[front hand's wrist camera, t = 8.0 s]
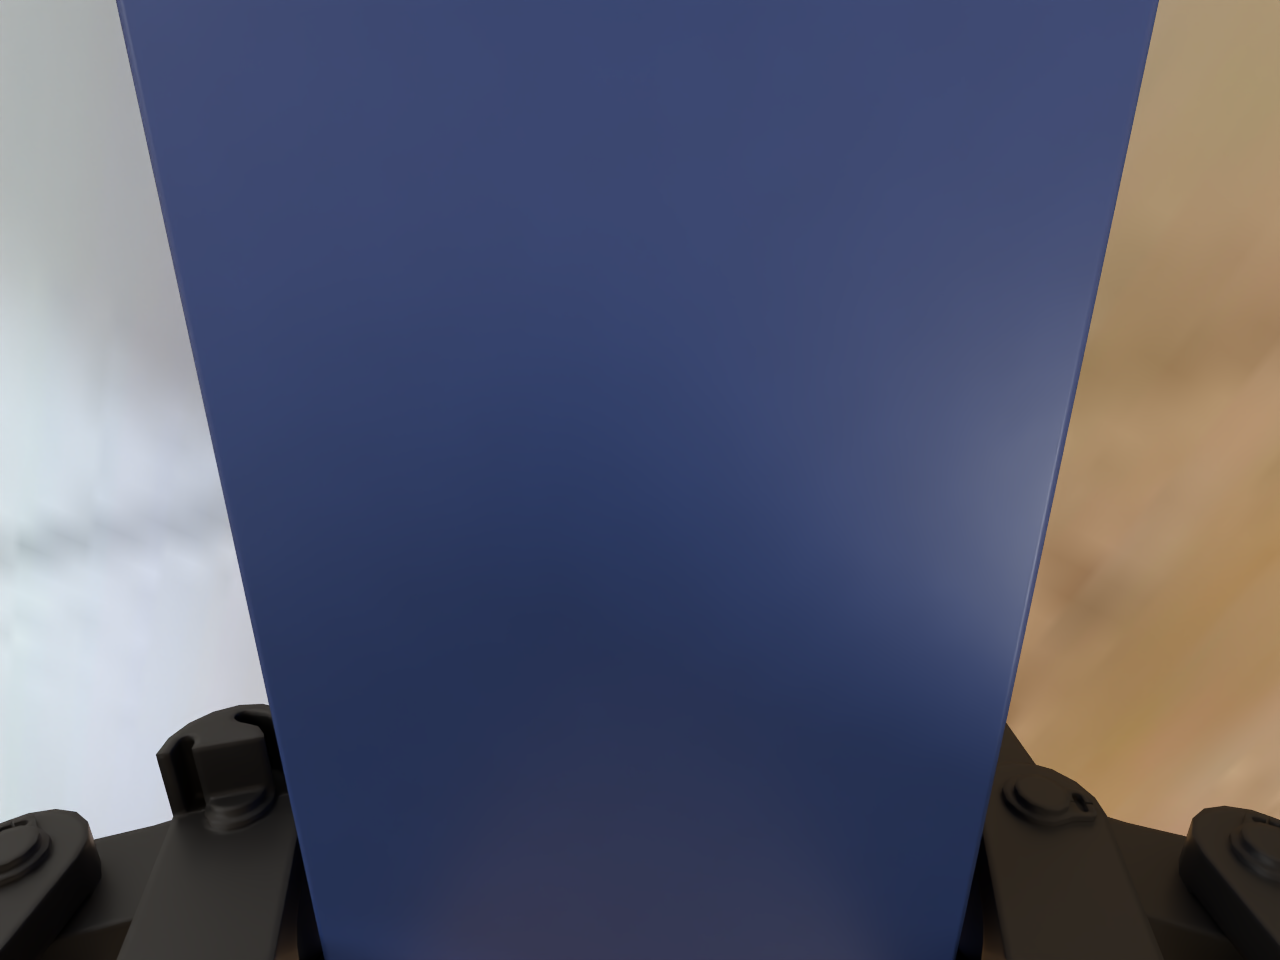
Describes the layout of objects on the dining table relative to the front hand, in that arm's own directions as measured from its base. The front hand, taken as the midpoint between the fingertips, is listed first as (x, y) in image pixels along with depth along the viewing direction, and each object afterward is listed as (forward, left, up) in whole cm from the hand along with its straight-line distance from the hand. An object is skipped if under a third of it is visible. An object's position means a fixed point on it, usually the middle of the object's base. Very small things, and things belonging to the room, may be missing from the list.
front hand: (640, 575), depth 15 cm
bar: (+10, 0, -1) cm, 10 cm away
